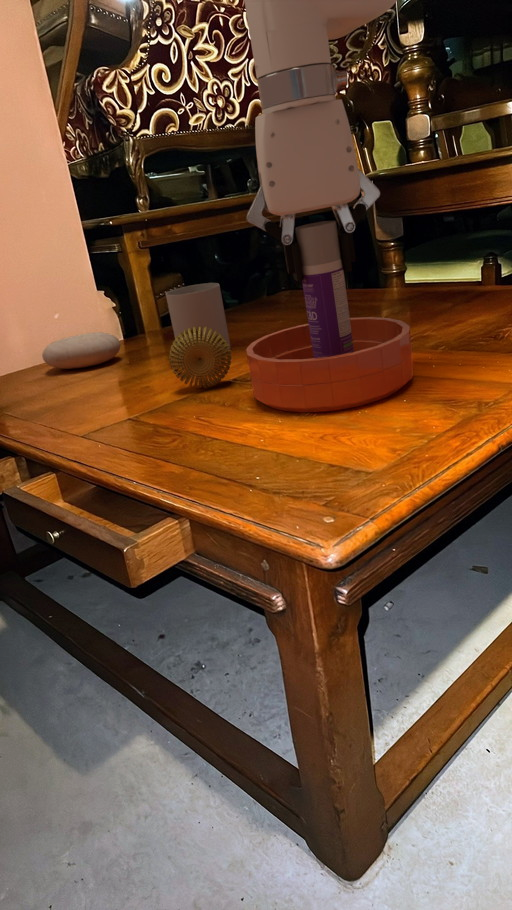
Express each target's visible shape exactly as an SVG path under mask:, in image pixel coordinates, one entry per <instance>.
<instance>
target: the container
mask: <svg viewBox="0 0 512 910" xmlns="http://www.w3.org/2000/svg"><path fill="white" fill-rule="evenodd" d="M294 230H295V239H296V243H297V244H298V245H299V251H300V257H301V264H302V271H303V277H304V279H302V281H301V282H302V290H303V296H304V297H303V298H304V302H305V303H304V304H305V309H306V316H307V322H308V323H307V324H309V329H310V336H311V342H312V349H313V355H314V358H322V357H330V356H335V355H341V354H346V353H352V352H354V348H353V340H352V332H351V325H350V318H351V316H350V310H349V303H348V293H347V288H346V287H347V286H346V279H345V271H344V270H343V263H342V257H341V251H340V244H339V238H338V226H337V220H324V221H318V222H313V223H308V224H303V225H299V226H297V227H294Z"/></svg>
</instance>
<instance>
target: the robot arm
mask: <svg viewBox="0 0 512 910" xmlns="http://www.w3.org/2000/svg"><path fill="white" fill-rule="evenodd" d="M243 1H244V7H245V13H246V20H247V25H248V31H249V39H250V44H251V52H252V57H253V64H254V70H255V76H256V80H257V89H258V94H259V101H260V108H261V113H262V114H260V115H257V116H256V117H255V123H254V125H255V127H254V130H255V131H254V133H255V151H256V161H257V171H258V179H259V188H258V190H257V192H256V194H255V197H254V198H253V201H252V203H251V205H250V207H249V210H248V211H247V214H246V216H245V219H246V222H248V223H249V224H251V225H253V226H255V227H257V228H259V229H261V230H262V231H264V232H266V233H268V234H269V235H270V236H272V237H273V238H275V239H276V240H277V241H279V243H282V247H283V253H284V258H285V265H286V272H287V274H288V275H293V279H294V280H295V281H296V282H298V283H299V282H302V279H304V277H303V271H302V264H301V257H300V251H299V245H298V244H297V241H296V237H295V236H294V230H295V220H296V214H300V213H301V214H302V213H306V212H311V211H316V210H320V209H326V208H331V209H332V212H333V215H334V217H335V219H336V223H337V224H338V226H337V232H338V238H339V244H340V251H341V257H342V263H343V271H344V272H346V273H348V272H353V265H352V263H353V262H356V259H357V258H356V251H355V242H354V235H353V232H355V229H356V227H357V226H358V224H359V222H360V221H361V220H362V218H363V217H364V216H365V214H366V213H367V210H368V209H370V208H371V206H373V204H374V203H375V202H376V201H377V200H378V199H379V198H380V196H381V190H380V189H379V187H377V186H376V185H375V184H374V183H373V182H372V181H371V179H370V178H368V177H367V176H366V175H365V173H364V172H362V171H361V169H360V168H359V166H358V160H357V155H356V149H355V145H354V140H353V135H352V130H351V127H350V122H349V118H348V115H347V112H346V109H345V105H344V102H343V99H336V94H337V91H338V89H341V87H346V86H348V84H349V79H348V78H349V77H348V72H347V70H343V71H342V70H341V71H339V70H336V69H335V68H334V65H333V64H332V60H331V59H332V58H331V50H330V43H329V40H336V39H340V38H343V37H346V36H347V35H349V34H350V33H352V32H354V31H355V30H357V29H359V28H360V27H362V26H364V25H367V24H369V23H370V22H372V21H374V20H375V19H378V18H379V17H381V16H382V15H384V14H385V13H386V12H388V11H389V10H390V9H391V8H392V7H393V6H394V5H395V4H396V3H397V2H398V0H243ZM360 193H361V196H360ZM359 196H360V198H359V199H358V200H357V201H356V203H354V204H353V205H352V206H351V208H349V205H348V203H351V202H353V201H354V200H356V199H357V198H358V197H359ZM264 210H265V211H266V212H267V213H269V214H272V215H273V216H280V219H279V225H278V224H277V223H275V222H274V221H272V220H271V219H269V218H266V217H265V216H264V215H263V211H264Z"/></svg>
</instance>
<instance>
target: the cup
mask: <svg viewBox="0 0 512 910" xmlns="http://www.w3.org/2000/svg"><path fill="white" fill-rule="evenodd" d="M165 297H166V303H167V307H168V312H169V316H170V317H169V318H170V320H171V326H172V331H173V335H174V339H175V338H176V337H177V336H179V334H180V333H181V332H182V333H183V331H184V330H188V328H190V327H191V328H192V329H193V327H197V329H198V328H199V326H202V335H203V330H204V326H205V327H207V330H206V336H207V333H208V331H209V328H211V329H212V330H211V333H210V336H211V334H212V333H213V331H214V330H215V331H217V332H216V335H217V334H218V333H220V334H221V337H224V338H225V339H224V341H227V342H228V344H227V345H229V347H230V349H229V350H230V351H231V349H232V348H231V342H230V335H229V330H228V325H227V319H226V313H225V308H224V303H223V297H222V291H221V286H220V284H219V283H218V282H207V283H206V282H205V283H199V284H192V285H187V286H183V287H178V288H175V289H172V290H169V291H167V292H165ZM191 334H192V333H191ZM216 335H215V336H216ZM187 336H188V334H187ZM210 336H209V337H210ZM188 337H189V336H188ZM192 337H193V335H192ZM196 337H197V336H196ZM183 338H184V336H183ZM193 338H194V337H193ZM184 339H185V338H184ZM205 339H206V337H205ZM179 341H181V340H179ZM214 341H215V340H214ZM181 342H182V341H181ZM219 342H220V341H219ZM219 342H218V343H219ZM218 343H216V344H218ZM176 344H177V345H179V344H178V343H176ZM216 344H215V345H216ZM187 345H188V344H187ZM220 346H222V345H220ZM185 347H186V346H185ZM181 349H182V348H181ZM224 349H226V348H223V349H221V350H224ZM180 353H181V352H180ZM180 356H181V355H180Z"/></svg>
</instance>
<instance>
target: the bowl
mask: <svg viewBox="0 0 512 910" xmlns="http://www.w3.org/2000/svg"><path fill="white" fill-rule="evenodd" d="M350 325H351V332H352V340H353V348H354V352H352V353H346V354H341V355H335V356H330V357H322V358H314V355H313V349H312V342H311V336H310V329H309V323H304V324H300V325H296V326H291V327H288V328H284V329H281V330H277V331H275V332H272V333H269V334H267V335H264V336H262V337H259V338H258V339H256V340H254V341H252V342H251V343H250V344H249V345H248V346H247V347H246V348H245V354H246V359H247V363H248V364H247V365H248V370H249V376H250V377H249V378H250V381H251V388H252V392H253V396H254V399H255V400H257V401H259V402H260V403H262V404H264V405H266V406H267V407H270V408H271V409H275V410H279V411H284V412H289V413H290V412H291V413H292V412H293V413H320V412H321V413H322V412H332V411H341V410H346V409H347V410H348V409H351V408H357V407H360V406H365V405H369V404H371V403H375V402H377V401H380V400H383V399H385V398H387V397H390V396H391V395H394V394H395V393H397V392H398V391H400V390H401V389H403V387H404V386H405V385H406V384H407V383H408V382H409V381H411V380H412V378H413V377H414V376H413V375H414V363H413V361H414V360H413V350H412V338H411V337H412V335H411V326H410V324H407V323H406V322H404V321H403V320H401V319H400V320H399V319H395V318H389V317H379V316H377V317H376V316H366V317H365V316H363V317H362V316H361V317H350Z"/></svg>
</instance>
